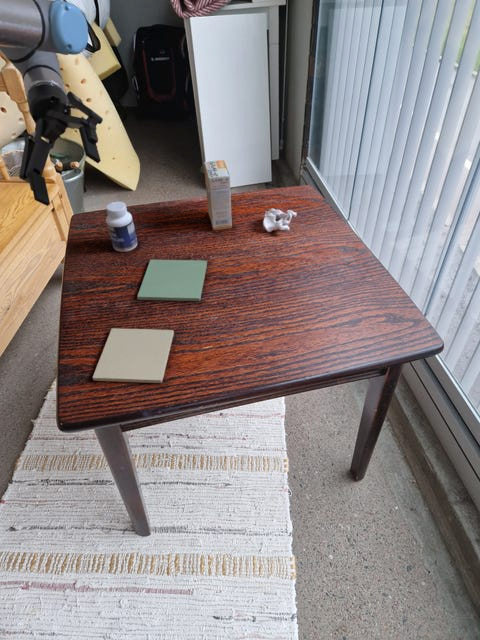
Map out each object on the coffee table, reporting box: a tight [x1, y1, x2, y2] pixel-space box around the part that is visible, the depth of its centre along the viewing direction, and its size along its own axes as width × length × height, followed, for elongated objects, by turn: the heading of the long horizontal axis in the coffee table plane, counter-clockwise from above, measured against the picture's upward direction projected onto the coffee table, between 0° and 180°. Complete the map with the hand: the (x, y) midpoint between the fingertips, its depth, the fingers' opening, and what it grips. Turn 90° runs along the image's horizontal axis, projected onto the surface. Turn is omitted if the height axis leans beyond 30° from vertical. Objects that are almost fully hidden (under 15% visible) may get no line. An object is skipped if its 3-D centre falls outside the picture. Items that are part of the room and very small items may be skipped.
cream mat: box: [92, 327, 175, 384], centre depth 70 cm, size 11×11×1 cm
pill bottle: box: [105, 201, 138, 253], centre depth 90 cm, size 5×5×10 cm
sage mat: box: [136, 259, 208, 302], centre depth 84 cm, size 12×12×1 cm
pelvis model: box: [262, 207, 298, 233], centre depth 97 cm, size 8×4×7 cm
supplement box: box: [203, 159, 233, 231], centre depth 96 cm, size 8×5×13 cm, turn 11°
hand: (67, 181), depth 75 cm, fingers open, 13 cm apart
